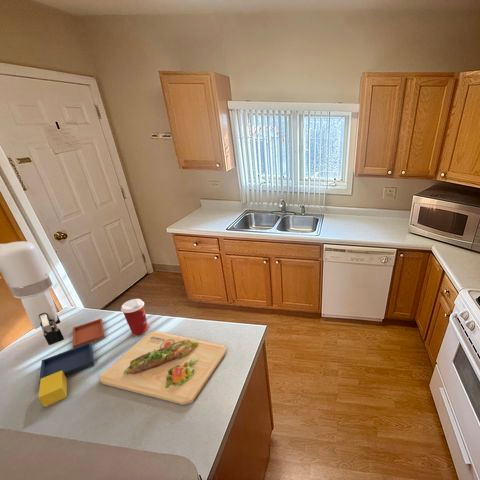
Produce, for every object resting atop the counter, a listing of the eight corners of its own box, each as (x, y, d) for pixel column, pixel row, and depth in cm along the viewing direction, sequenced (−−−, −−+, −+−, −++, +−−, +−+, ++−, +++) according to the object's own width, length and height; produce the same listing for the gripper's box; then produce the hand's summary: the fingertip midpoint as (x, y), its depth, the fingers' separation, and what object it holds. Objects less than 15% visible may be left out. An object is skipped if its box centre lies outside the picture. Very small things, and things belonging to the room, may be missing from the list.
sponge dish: (105, 337, 102) (103, 334, 102) (74, 349, 97) (72, 345, 96) (102, 321, 111) (101, 318, 110) (74, 330, 105) (72, 327, 104)
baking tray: (41, 387, 83) (38, 382, 82) (44, 364, 90) (41, 360, 89) (94, 365, 91) (92, 361, 90) (92, 346, 98) (90, 342, 97)
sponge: (66, 397, 80) (61, 387, 78) (44, 407, 77) (38, 397, 75) (67, 379, 85) (62, 370, 84) (46, 388, 82) (40, 378, 80)
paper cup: (154, 329, 108) (147, 302, 102) (134, 340, 102) (125, 312, 96) (145, 321, 112) (137, 295, 106) (125, 332, 106) (116, 305, 100)
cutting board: (229, 349, 100) (227, 335, 97) (189, 407, 79) (186, 391, 76) (152, 333, 106) (148, 319, 103) (96, 383, 85) (89, 367, 82)
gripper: (11, 278, 72) (35, 324, 79) (10, 306, 62) (38, 357, 69) (48, 269, 77) (68, 313, 84) (53, 293, 67) (75, 342, 74)
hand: (55, 333), depth 76 cm, fingers open, 9 cm apart
